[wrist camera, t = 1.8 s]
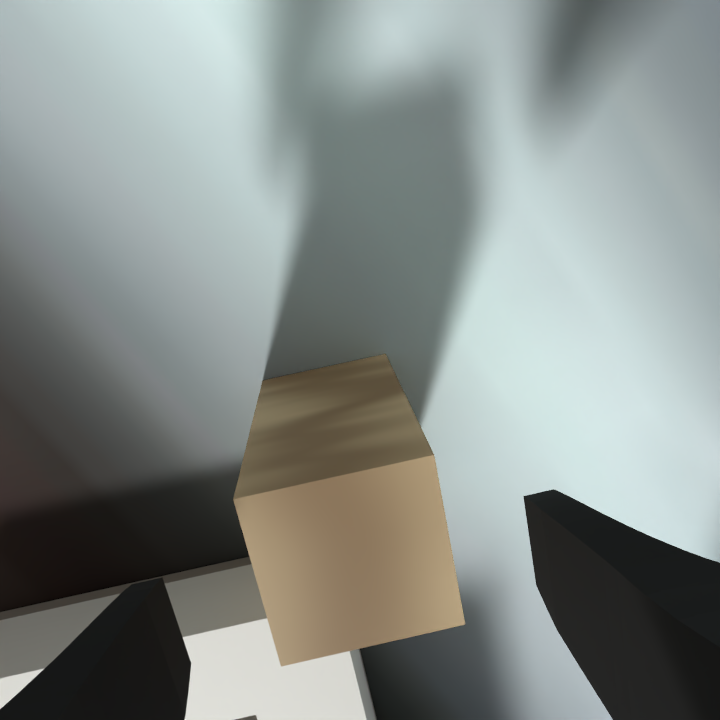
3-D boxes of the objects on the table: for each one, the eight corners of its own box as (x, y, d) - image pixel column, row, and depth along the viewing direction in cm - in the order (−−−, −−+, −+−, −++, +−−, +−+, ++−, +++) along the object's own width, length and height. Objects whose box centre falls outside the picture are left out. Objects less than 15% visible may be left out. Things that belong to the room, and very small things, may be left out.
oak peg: (385, 353, 20) (434, 454, 12) (407, 466, 21) (465, 624, 13) (262, 380, 20) (233, 499, 12) (291, 491, 21) (280, 666, 13)
